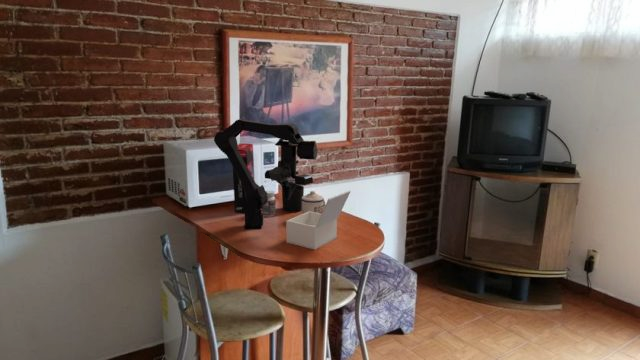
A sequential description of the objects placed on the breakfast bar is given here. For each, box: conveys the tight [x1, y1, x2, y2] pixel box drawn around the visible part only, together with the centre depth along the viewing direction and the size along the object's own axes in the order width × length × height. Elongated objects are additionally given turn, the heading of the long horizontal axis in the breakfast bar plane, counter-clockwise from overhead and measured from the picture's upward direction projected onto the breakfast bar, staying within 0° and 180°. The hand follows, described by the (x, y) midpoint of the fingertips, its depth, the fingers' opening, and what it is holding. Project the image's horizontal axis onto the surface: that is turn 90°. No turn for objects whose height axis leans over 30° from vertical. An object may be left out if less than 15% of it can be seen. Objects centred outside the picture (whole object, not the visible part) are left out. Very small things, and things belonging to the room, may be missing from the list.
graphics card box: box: [232, 143, 255, 214], centre depth 207 cm, size 17×7×27 cm, turn 179°
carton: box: [285, 211, 338, 251], centre depth 169 cm, size 12×14×8 cm
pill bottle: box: [261, 190, 277, 218], centre depth 198 cm, size 6×6×10 cm
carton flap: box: [316, 189, 351, 228], centre depth 163 cm, size 12×14×1 cm
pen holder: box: [281, 184, 305, 213], centre depth 207 cm, size 9×9×10 cm
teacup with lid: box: [301, 190, 326, 214], centre depth 194 cm, size 12×9×12 cm
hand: (288, 199), depth 179 cm, fingers closed
